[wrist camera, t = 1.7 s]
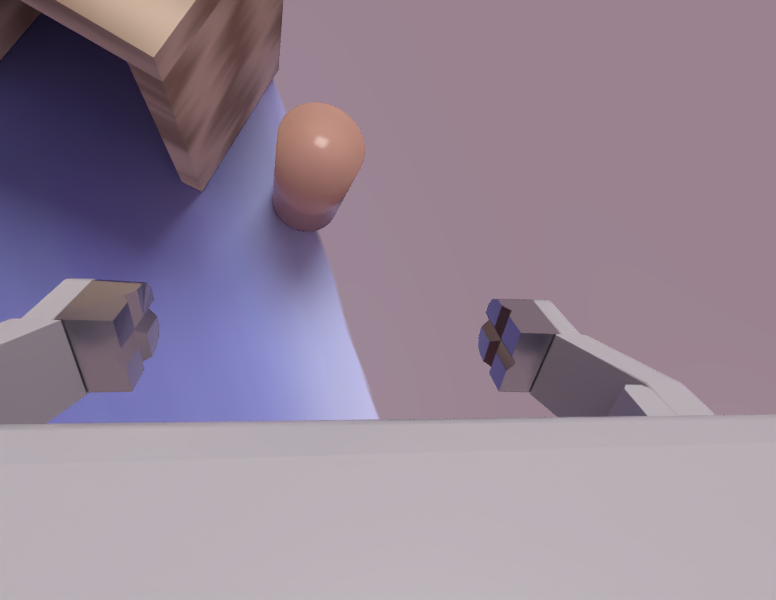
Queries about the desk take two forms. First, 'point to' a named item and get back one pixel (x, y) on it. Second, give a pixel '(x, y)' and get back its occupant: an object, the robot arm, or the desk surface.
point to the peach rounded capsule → (315, 164)
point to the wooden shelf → (177, 63)
